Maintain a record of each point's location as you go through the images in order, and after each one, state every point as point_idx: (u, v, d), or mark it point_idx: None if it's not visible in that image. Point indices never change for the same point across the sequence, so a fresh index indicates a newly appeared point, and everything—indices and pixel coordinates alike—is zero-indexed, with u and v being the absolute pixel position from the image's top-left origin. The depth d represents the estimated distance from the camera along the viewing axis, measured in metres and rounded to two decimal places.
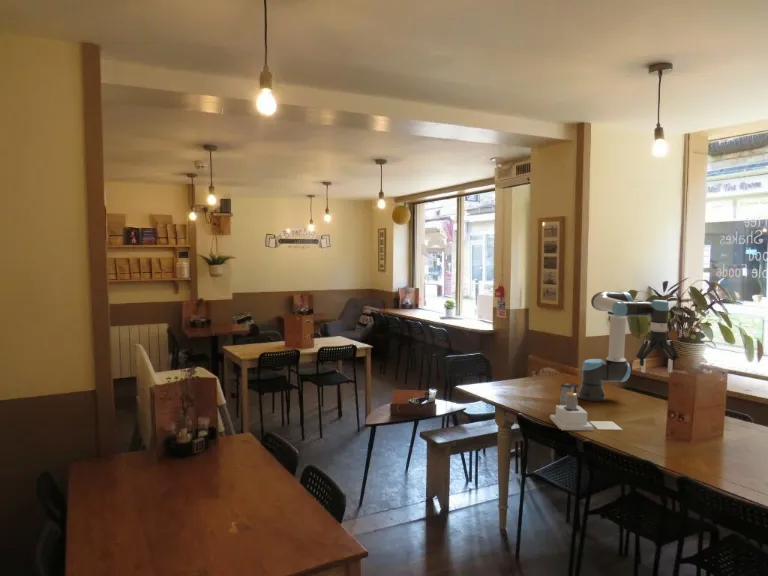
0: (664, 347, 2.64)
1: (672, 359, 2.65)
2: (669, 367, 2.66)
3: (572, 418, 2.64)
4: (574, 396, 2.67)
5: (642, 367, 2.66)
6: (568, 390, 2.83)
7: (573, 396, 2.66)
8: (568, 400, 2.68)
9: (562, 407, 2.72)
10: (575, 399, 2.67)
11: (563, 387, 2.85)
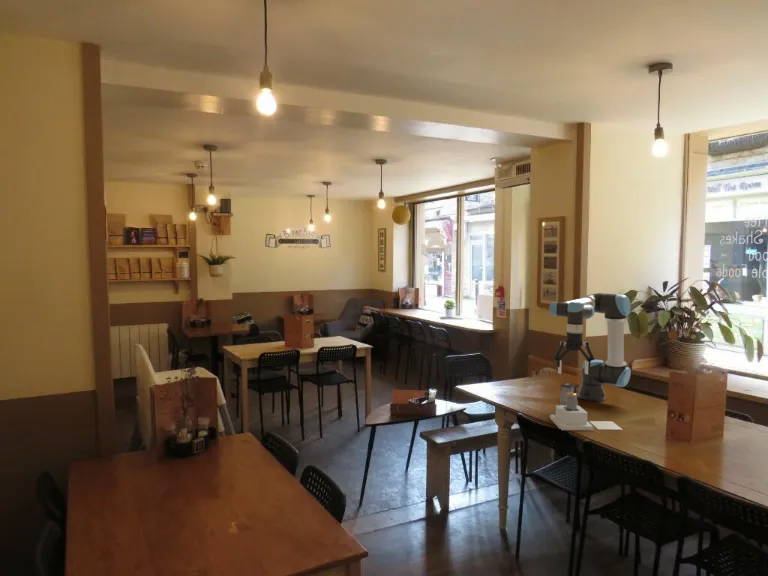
0: (580, 348, 2.65)
1: (588, 360, 2.66)
2: (585, 368, 2.68)
3: (572, 418, 2.64)
4: (574, 396, 2.67)
5: (558, 368, 2.68)
6: (568, 390, 2.83)
7: (573, 396, 2.66)
8: (568, 400, 2.68)
9: (562, 407, 2.72)
10: (575, 399, 2.67)
11: (563, 387, 2.85)
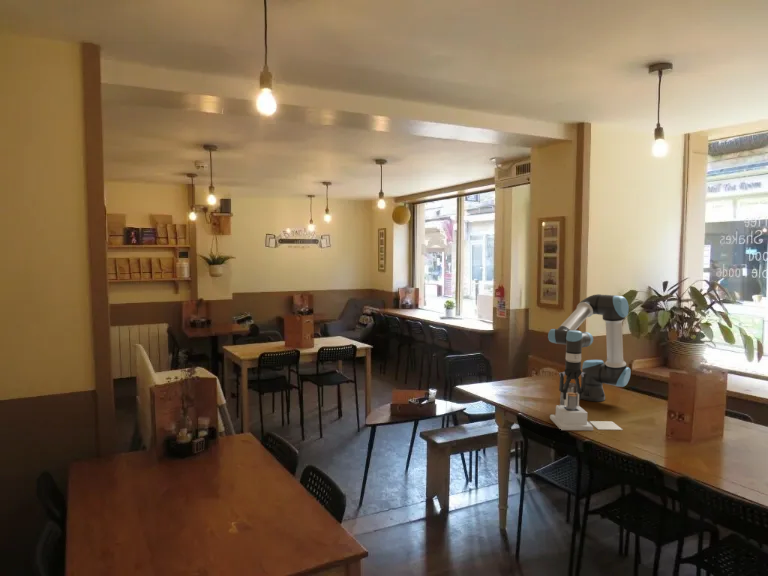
0: (576, 378, 2.67)
1: (578, 392, 2.68)
2: None
3: (572, 418, 2.64)
4: (574, 396, 2.67)
5: (565, 401, 2.69)
6: (568, 390, 2.83)
7: (573, 396, 2.66)
8: (568, 400, 2.68)
9: (562, 407, 2.72)
10: (575, 399, 2.67)
11: (563, 387, 2.85)
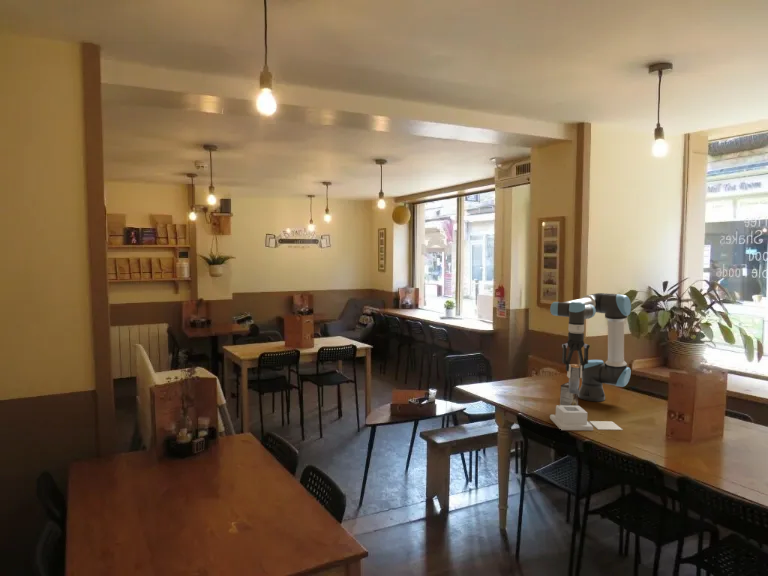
0: (579, 349, 2.65)
1: (581, 364, 2.67)
2: None
3: (572, 418, 2.64)
4: (577, 367, 2.65)
5: (568, 372, 2.68)
6: (568, 390, 2.83)
7: (576, 367, 2.65)
8: (571, 372, 2.67)
9: (562, 407, 2.72)
10: (578, 370, 2.66)
11: (563, 387, 2.85)
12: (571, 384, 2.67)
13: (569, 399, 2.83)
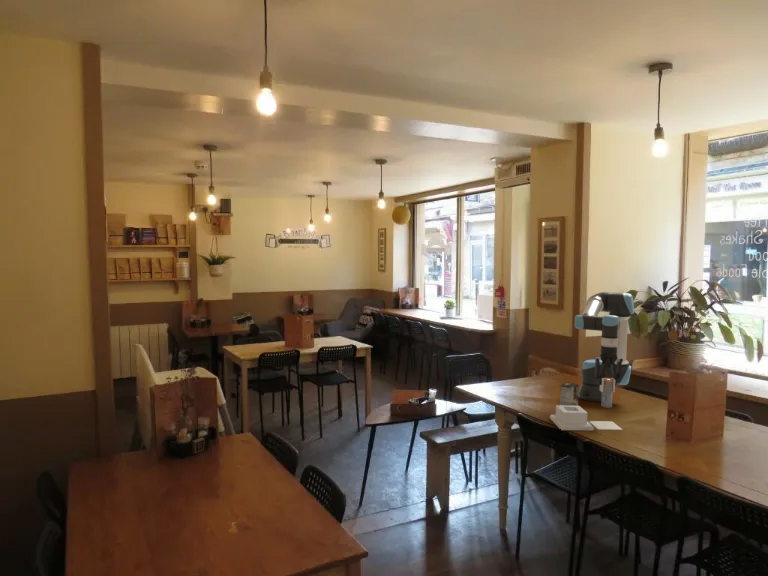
0: (612, 363, 2.64)
1: (614, 378, 2.65)
2: None
3: (572, 418, 2.64)
4: (610, 381, 2.64)
5: (600, 386, 2.66)
6: (568, 390, 2.83)
7: (609, 381, 2.64)
8: (604, 385, 2.65)
9: (562, 407, 2.72)
10: (611, 384, 2.64)
11: (563, 387, 2.85)
12: (604, 398, 2.65)
13: (569, 399, 2.83)
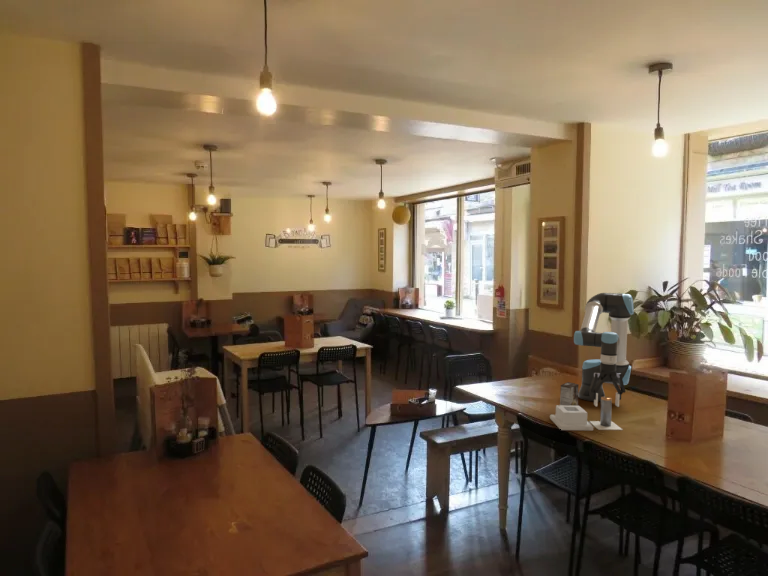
0: (613, 379, 2.64)
1: (619, 393, 2.66)
2: (616, 401, 2.67)
3: (572, 418, 2.64)
4: (609, 400, 2.65)
5: (595, 401, 2.67)
6: (568, 390, 2.83)
7: (608, 400, 2.65)
8: (603, 404, 2.66)
9: (562, 407, 2.72)
10: (610, 403, 2.65)
11: (563, 387, 2.85)
12: (603, 417, 2.66)
13: (569, 399, 2.83)
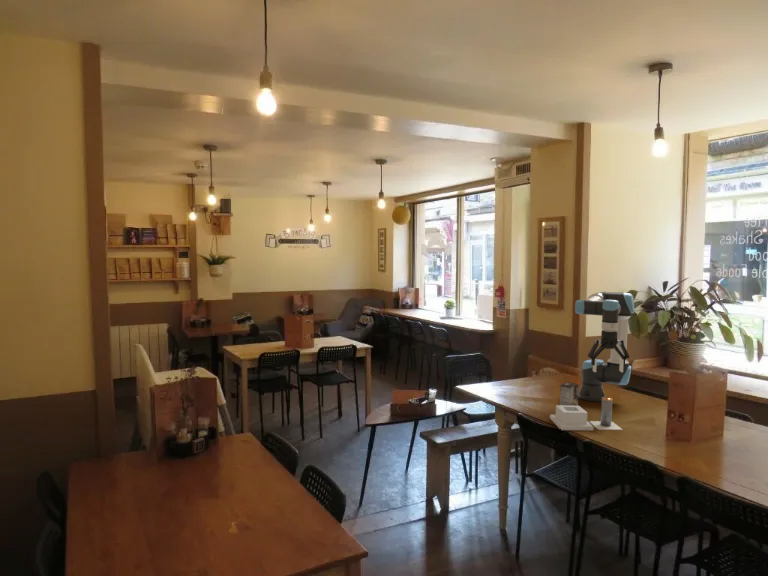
0: (615, 347, 2.65)
1: (623, 358, 2.66)
2: (620, 366, 2.67)
3: (572, 418, 2.64)
4: (610, 400, 2.65)
5: (593, 366, 2.68)
6: (568, 390, 2.83)
7: (609, 400, 2.65)
8: (603, 404, 2.66)
9: (562, 407, 2.72)
10: (610, 404, 2.65)
11: (563, 387, 2.85)
12: (603, 417, 2.66)
13: (569, 399, 2.83)
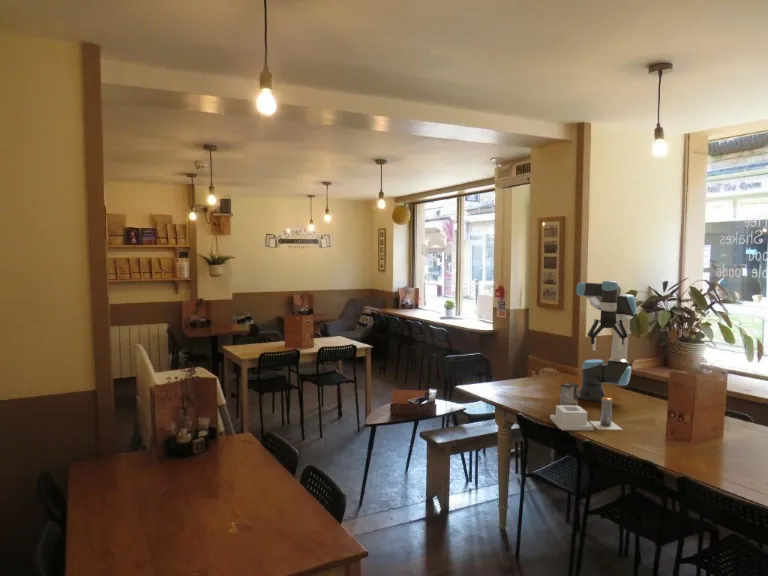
0: (614, 326, 2.74)
1: (622, 337, 2.75)
2: (619, 345, 2.77)
3: (572, 418, 2.64)
4: (609, 400, 2.65)
5: (593, 345, 2.77)
6: (568, 390, 2.83)
7: (608, 400, 2.65)
8: (603, 404, 2.66)
9: (562, 407, 2.72)
10: (610, 403, 2.65)
11: (563, 387, 2.85)
12: (603, 417, 2.66)
13: (569, 399, 2.83)
